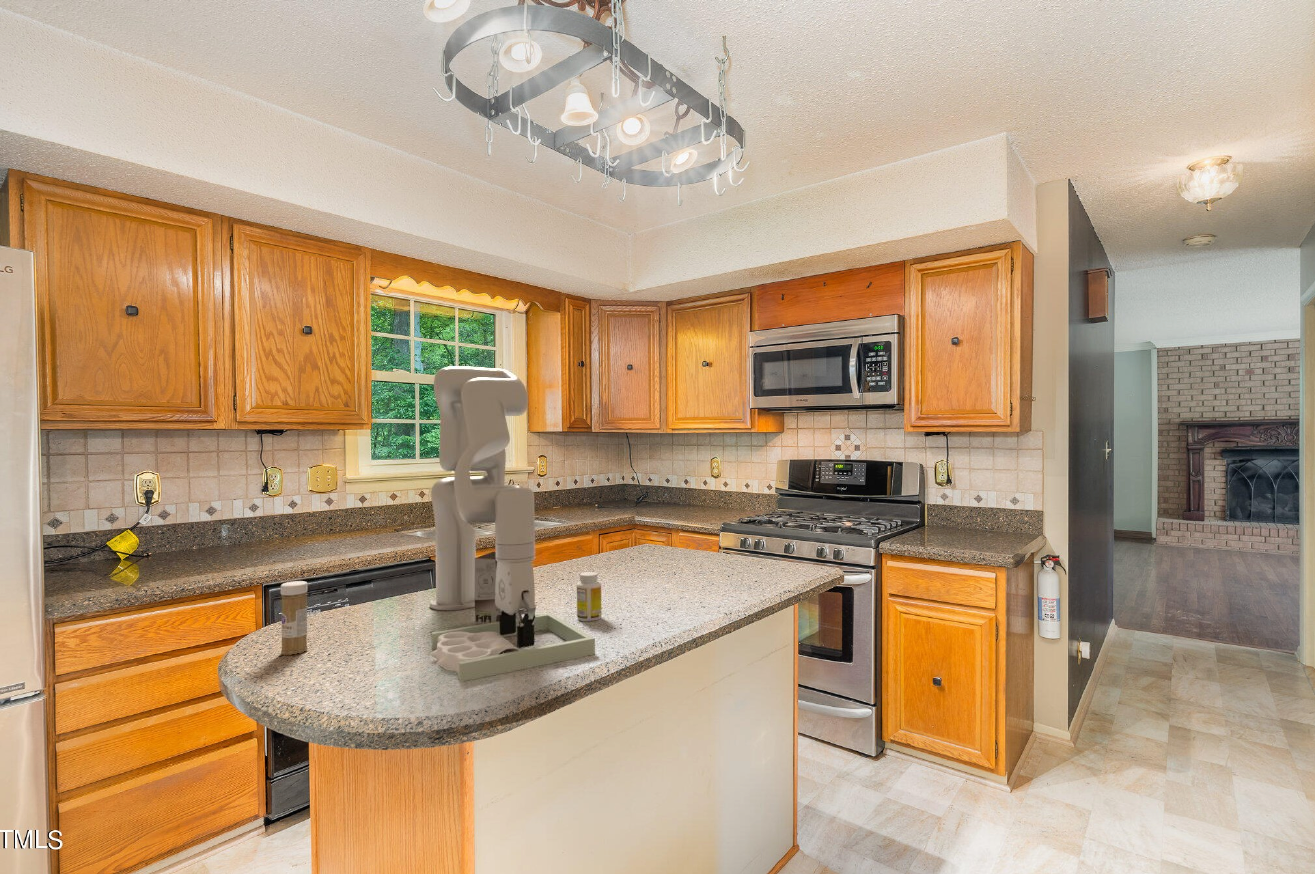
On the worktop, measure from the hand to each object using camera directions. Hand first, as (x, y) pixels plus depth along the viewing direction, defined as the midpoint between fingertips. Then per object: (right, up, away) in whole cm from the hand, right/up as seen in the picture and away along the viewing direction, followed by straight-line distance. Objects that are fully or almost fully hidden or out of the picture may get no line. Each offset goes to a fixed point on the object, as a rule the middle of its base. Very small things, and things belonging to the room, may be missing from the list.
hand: (516, 640), depth 125 cm
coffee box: (-7, -2, +15) cm, 17 cm away
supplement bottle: (+12, -2, +22) cm, 25 cm away
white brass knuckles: (-8, -3, -4) cm, 9 cm away
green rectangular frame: (-1, -2, 0) cm, 2 cm away
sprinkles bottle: (-43, -3, +1) cm, 43 cm away
